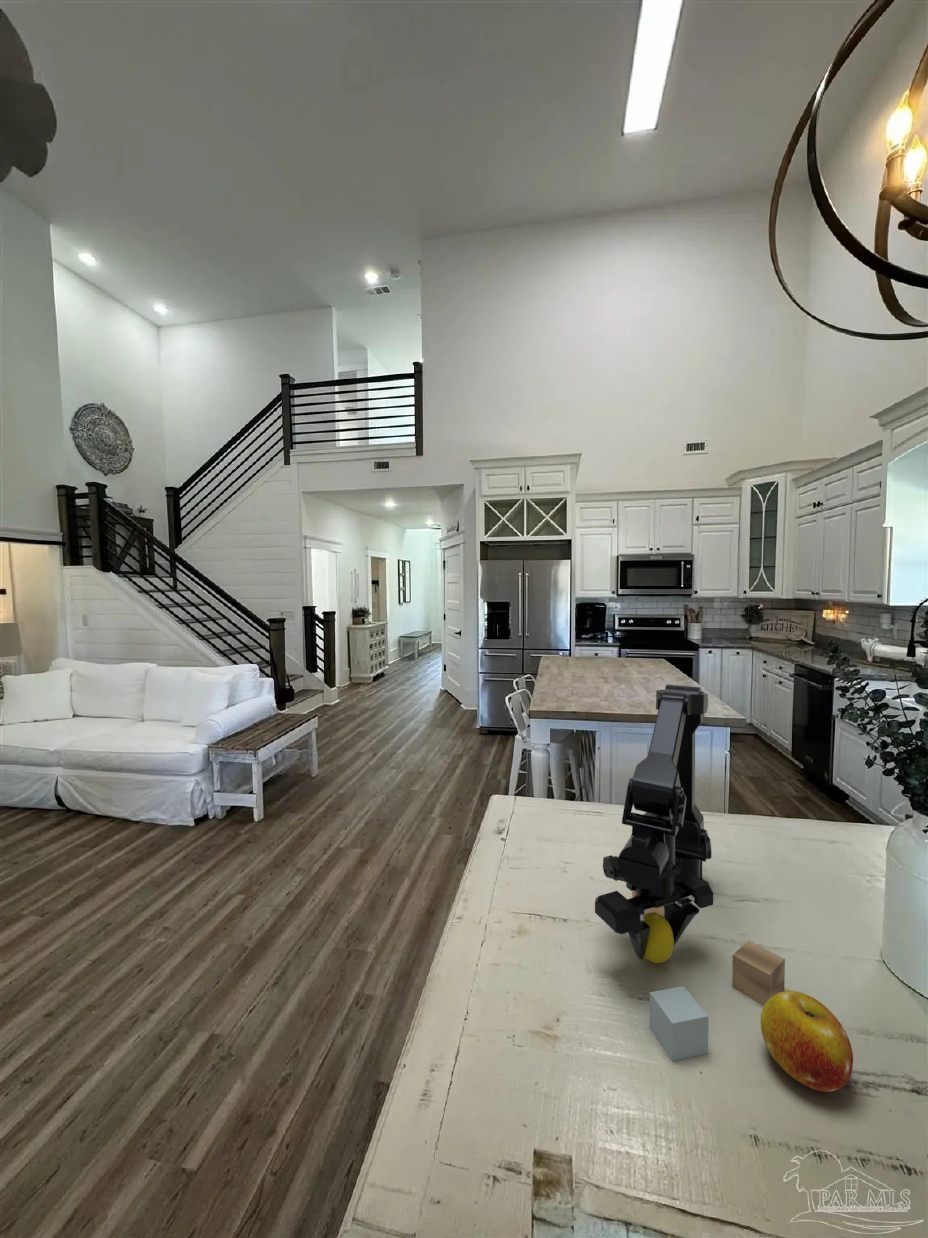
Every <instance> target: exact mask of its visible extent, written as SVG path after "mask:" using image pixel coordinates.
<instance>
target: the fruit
mask: <svg viewBox="0 0 928 1238" xmlns="http://www.w3.org/2000/svg"><path fill="white" fill-rule="evenodd" d="M759 1024H760V1032H761V1036H762V1037H763V1038H762V1039H763V1041H764V1044H765V1046H766V1048H767V1050H768V1052H769V1054H770V1055H771V1057H772V1058H773V1060H774V1061H775V1062H776V1063H777V1064H778V1065H779V1066H780V1067H781V1069H782V1070H783V1071H784V1072H785V1073H786V1074H788V1075H789V1076H790V1077H792V1078H793V1079H794V1080H795V1081H797V1082H799V1083H800V1084H801V1085H803V1086H805V1087H807V1088H809V1089H812V1090H815V1091H817V1092H824V1093H831V1092H835V1091H838V1090H840V1089H843V1087H844V1086H845V1085H847V1084H848V1082H849V1080H850V1079H851V1076H852V1073H853V1067H854V1065H853V1064H854V1053H853V1049H852V1044H851V1041H850V1038H849V1036H848V1034H847V1032H846V1030H845V1028H844V1027H843V1025H842V1023H841V1022H840V1020H838V1018H837V1017H836V1016H835V1015H834V1013H833V1011H831V1010H830V1009H829V1008H828V1007H827V1006H825V1004H823V1003H822V1002H821V1001H819V1000H818V999H816V998H814V997H813V996H811V995H808V994H806V993H803V992H801V991H795V990H784V991H783V992H779V993H777V994H775V995H774V996H772V997H771V998H769V999H768V1001H767V1002H766V1003H765V1005H764V1006H763V1005H762V1009H761V1013H760V1023H759Z"/></svg>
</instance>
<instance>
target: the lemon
mask: <svg viewBox="0 0 928 1238" xmlns="http://www.w3.org/2000/svg"><path fill="white" fill-rule="evenodd" d="M644 922H645V923H646V924H647V925H649V926H650V932H649V936H648V941H647V946H646V950H645V954H644V957H643V958H645V959H646V960H648V961H650V962H652V963H653V964H661V963H664V962H666V961H668V960H669V958H671V956H672V954H673V951H674V947H675V946H674V938H673V932H672V929H671V926H670V924H669V923H668V921H667V920H666V919H665V916H664V915H663V916H661V915H660V914H658V913H655V912H651V913H646V914H644Z"/></svg>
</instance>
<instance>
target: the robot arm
mask: <svg viewBox="0 0 928 1238" xmlns="http://www.w3.org/2000/svg"><path fill="white" fill-rule="evenodd" d="M655 692H656V695H655V696H656V697H655V710H658V712H657V715H656V719H655V724H654V728H653V732H652V737H651V741H650V745H649V749H648V753H647V756H646V757H645V758H644V759H643V760H641V761H640V762H638V763H637V764H636V766H635V770H634V772H633V776H632V778H629V780H628V784H627V788H626V795H625V801H624V806H623V811H622V817H621V818H622V819H621V824H622V825H625V826H630V827H632V828H631V835H630V837H629V839H628V841H627V842H626V843H625V845H624V846H623V847H622V850H621V851H620V852H619V855H618V856H616V855H615V856H613V855H607V856H603V857H602V859H603V860H602V870H603V875H604V876H605V877H606V878H608V879H611V880H613V881H615V882H618V881H620V882H624V883H625V884H626V885H625V887H626V888H627V889H628V890H630V891H631V892H632V891H633V890H634V891H635V892H636V895H635V896H634V898H632V897H630V898H626V897H625V896H624V895H623V894H622V893H621V892H619V891H618V890H615V891H614V890H613V891H611V892H607V893H604V894H600V895H598V896H597V897H595V900H594V913H595V914H596V915H597V916H598V917H599V918H600V919H601V920H602V921H603V922H604V923H605V924H606V925H607V926H608V927H609V928H610V929H611V930H613V931H614V933H616V934H620V935H623V934H628V936H629V940H630V943H631V945H632V948H633V951H634V953H635V956H636V957H637V959H639V960H641V961H642V960H643V959H644V958H645V957H644V954H645V950H646V946H647V941H648V936H649V932H650V926H649V925H647V924H646V923H645V922H644V912H646V911H649V910H653V909H656V908H659V907H662V906H663V907H664V915H663V916H664V918H665V919H666V920H667V921H668V923H669V924H670V926H671V929H672V932H673V938H674V947H676V946H675V945H676V944H677V942H678V941H679V939H680V938H681V937H682V935H683V932H685V930H686V929H687V927H688V925H689V924H690V923H691V922H692V920H693V919H694V918H695V916H696V915H698V914H699V913H700V909H703V908H707V907H709V906H713V905H714V891H713V889H712V887H711V886H710V884H709V882H708V881H707V880H705V879H703V862H704V863H706V862H707V860H710V859H712V853H713V852H712V850H713V849H712V843H711V842H712V840H711V838H710V837H709V834H708V830H707V829H705V818H704V816H703V814H702V812H701V811H700V809H699V808H698V806H697V804H696V730H697V729H698V728H699V726H700V725H701V723H702V721H703V720H704V718H705V714H706V713H708V709H709V708H708V707H709V696H708V695H709V694H708V693H705V691H702V687H700V686H691V685H690V686H688V685H675V684H666V685H665V688H664V689H657V690H656V691H655ZM633 808H634V810H636V811H639V812H644V813H643V814H642V813H637V812H632V809H633ZM692 897H693V898H692ZM693 899H694V900H693ZM693 903H694V904H695V905H694V904H693Z"/></svg>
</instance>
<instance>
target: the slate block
mask: <svg viewBox="0 0 928 1238" xmlns="http://www.w3.org/2000/svg"><path fill="white" fill-rule="evenodd" d="M649 1029H650V1031H652V1033H653V1035H654V1036H655V1037H656V1039H657V1040H658V1042H659V1044H660V1045H661V1047H662V1048H663V1050H664V1051H665V1053H666V1054H667V1057H668V1058H669V1059H670V1060H671V1062H676V1061H680V1060H685V1059H689V1058H695V1057H699V1056H702V1055H707V1054H709V1015H708V1014H707V1012H706V1011H704V1008H702V1006H700V1004H699V1003H698V1002H697V1000H696V999H695V998H694V997H693V995H692V994H691V993H690V992H689V990H687V988H686V987H685V986H684V985H682V986H677V987H676V986H675V987H670V988H666V989H662V990H661V989H660V990H655V991H651V992H649Z"/></svg>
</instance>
